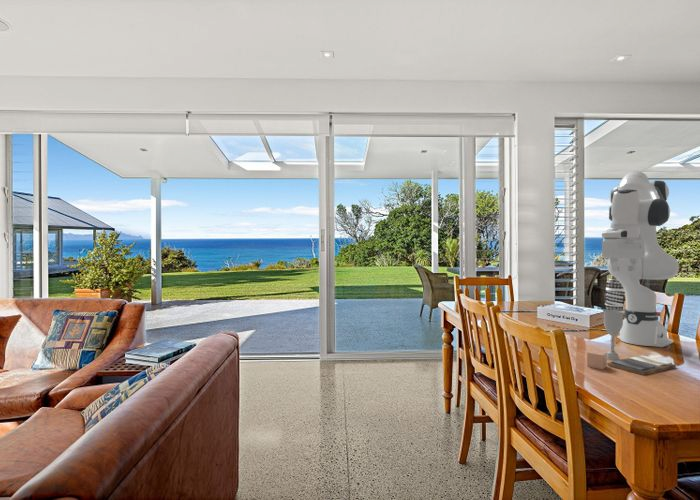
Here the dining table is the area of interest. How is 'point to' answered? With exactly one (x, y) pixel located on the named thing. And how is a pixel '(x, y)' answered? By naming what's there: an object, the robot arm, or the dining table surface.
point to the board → (642, 365)
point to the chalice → (613, 329)
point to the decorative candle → (614, 295)
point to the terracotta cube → (597, 359)
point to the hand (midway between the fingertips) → (623, 271)
